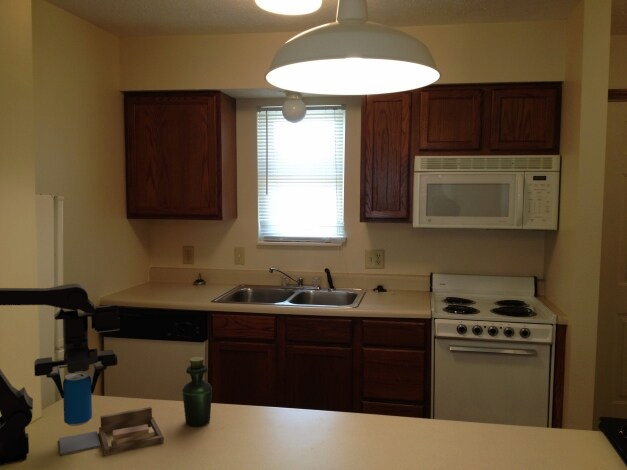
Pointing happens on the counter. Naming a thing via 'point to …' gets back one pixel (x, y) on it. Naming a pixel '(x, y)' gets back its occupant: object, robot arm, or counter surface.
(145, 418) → the rack
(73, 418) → the beverage can
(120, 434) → the offcut stack
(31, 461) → the counter surface
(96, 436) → the rubber mat
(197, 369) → the potion bottle
